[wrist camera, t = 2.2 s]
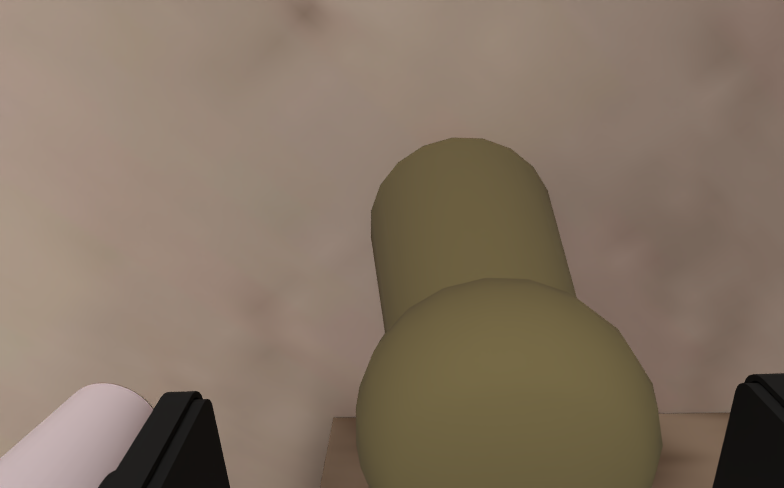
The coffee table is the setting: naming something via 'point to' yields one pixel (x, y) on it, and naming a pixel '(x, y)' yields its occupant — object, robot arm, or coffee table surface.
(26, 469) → the smoothie
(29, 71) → the coffee table surface
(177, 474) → the robot arm
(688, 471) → the pedestal
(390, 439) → the cork
